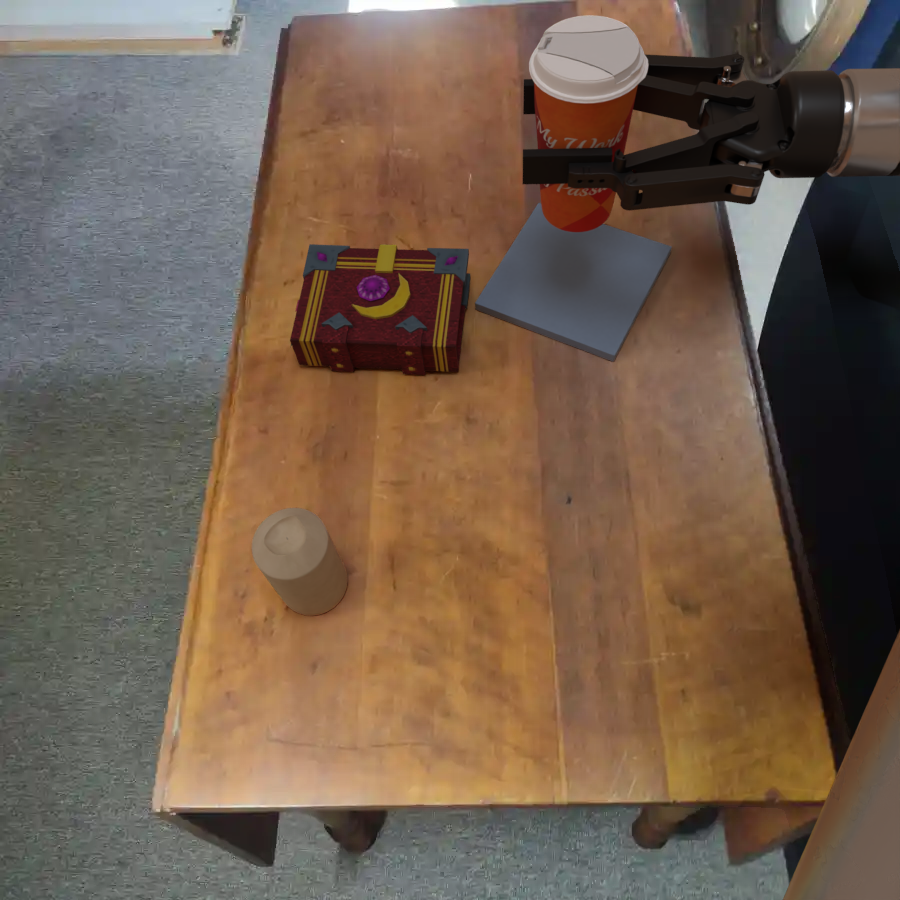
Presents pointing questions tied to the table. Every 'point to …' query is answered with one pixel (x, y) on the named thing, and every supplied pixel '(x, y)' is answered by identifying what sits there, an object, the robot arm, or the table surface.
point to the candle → (300, 561)
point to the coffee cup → (584, 105)
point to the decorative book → (382, 308)
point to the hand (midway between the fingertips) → (523, 131)
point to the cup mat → (574, 283)
